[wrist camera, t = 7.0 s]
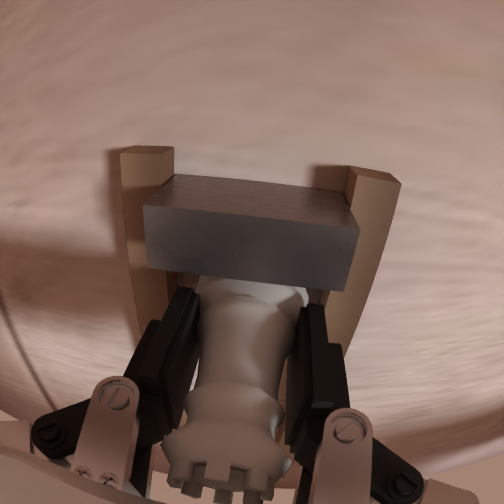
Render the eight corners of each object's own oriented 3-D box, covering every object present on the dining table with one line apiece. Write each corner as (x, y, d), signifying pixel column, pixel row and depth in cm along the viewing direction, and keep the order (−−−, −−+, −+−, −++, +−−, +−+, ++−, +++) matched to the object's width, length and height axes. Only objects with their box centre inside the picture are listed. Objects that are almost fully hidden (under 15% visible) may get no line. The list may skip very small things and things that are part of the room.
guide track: (390, 173, 10) (401, 183, 9) (284, 465, 22) (283, 477, 21) (135, 145, 10) (119, 153, 9) (178, 451, 22) (175, 462, 21)
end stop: (341, 192, 10) (360, 229, 8) (330, 243, 11) (343, 292, 9) (176, 174, 11) (142, 205, 8) (176, 225, 12) (147, 267, 9)
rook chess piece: (237, 346, 14) (206, 513, 7) (176, 276, 12) (92, 455, 6) (326, 311, 13) (343, 503, 6) (272, 225, 11) (248, 448, 4)
